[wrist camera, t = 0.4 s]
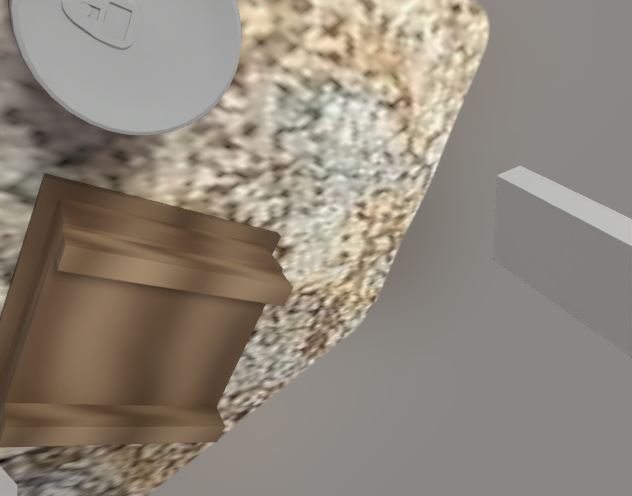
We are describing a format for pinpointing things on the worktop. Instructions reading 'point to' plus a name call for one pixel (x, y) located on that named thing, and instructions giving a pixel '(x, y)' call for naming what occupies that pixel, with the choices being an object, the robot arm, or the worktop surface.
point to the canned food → (131, 58)
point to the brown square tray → (127, 319)
